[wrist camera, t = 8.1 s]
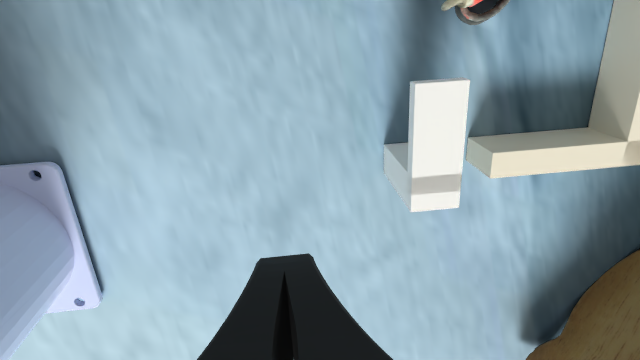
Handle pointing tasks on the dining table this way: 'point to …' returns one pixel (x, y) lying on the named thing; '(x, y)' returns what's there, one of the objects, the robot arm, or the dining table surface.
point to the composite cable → (461, 3)
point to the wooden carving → (602, 319)
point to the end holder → (604, 125)
